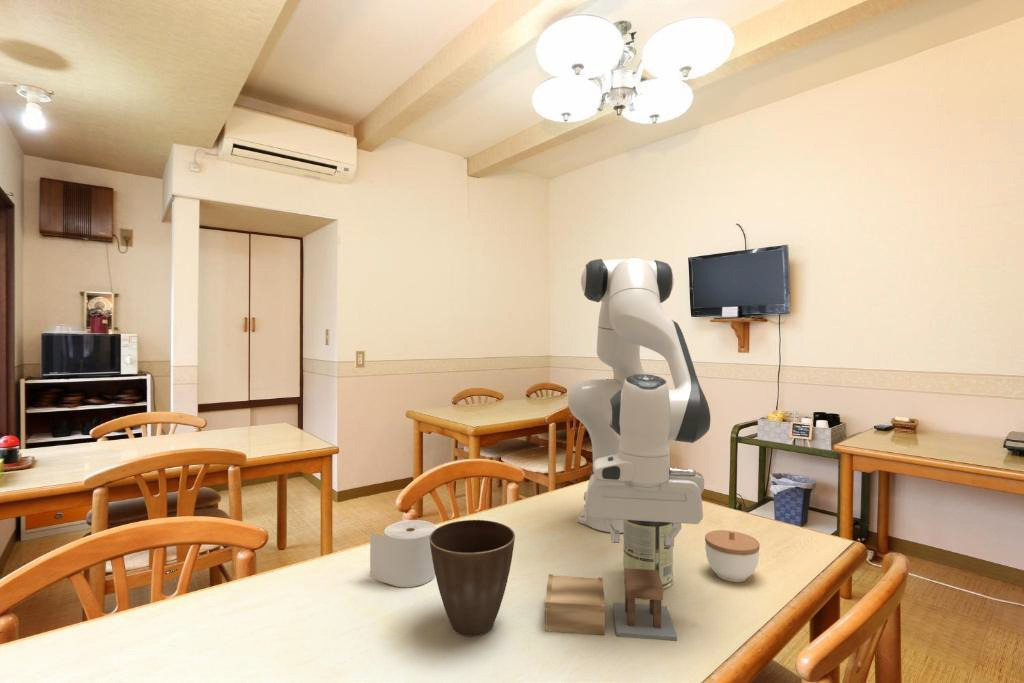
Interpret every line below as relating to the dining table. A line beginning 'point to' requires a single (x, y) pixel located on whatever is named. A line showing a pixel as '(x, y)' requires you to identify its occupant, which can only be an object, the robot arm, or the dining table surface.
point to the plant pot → (472, 571)
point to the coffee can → (648, 548)
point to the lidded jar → (732, 554)
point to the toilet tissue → (402, 554)
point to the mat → (643, 623)
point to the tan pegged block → (643, 593)
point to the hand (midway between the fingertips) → (641, 543)
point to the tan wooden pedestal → (575, 605)
